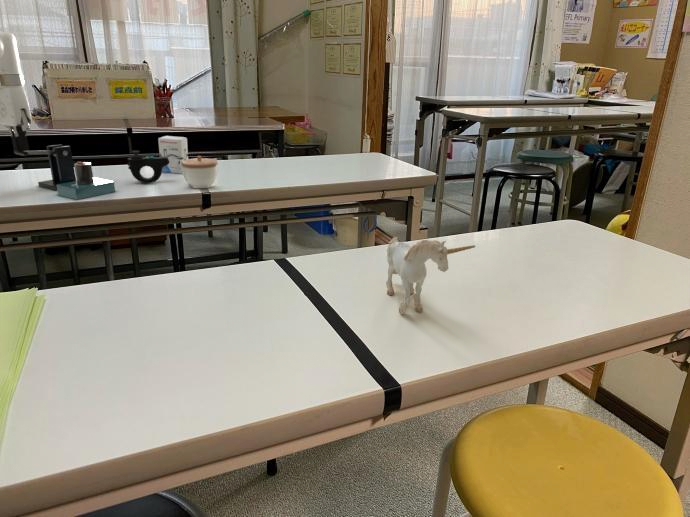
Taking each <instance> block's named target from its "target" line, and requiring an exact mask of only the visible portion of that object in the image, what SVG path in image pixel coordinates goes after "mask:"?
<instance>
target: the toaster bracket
mask: <svg viewBox="0 0 690 517" xmlns="http://www.w3.org/2000/svg"><path fill="white" fill-rule="evenodd" d="M53 148H54V149H55V155H56V156H53V154H47V158H48V162H49V168H50V173H51V178H52V179H49V180H48V179H47V180H42V181H38V182H37V184H38V187H41V188H43V189H48V190H52V191H56V192H58V191H57V184H63V183H68V182H73V181H76V174H75V168H74V160H73V153H72V147H71V145H63V144H52V145H47V146H46V151H47V150H53Z"/></svg>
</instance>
